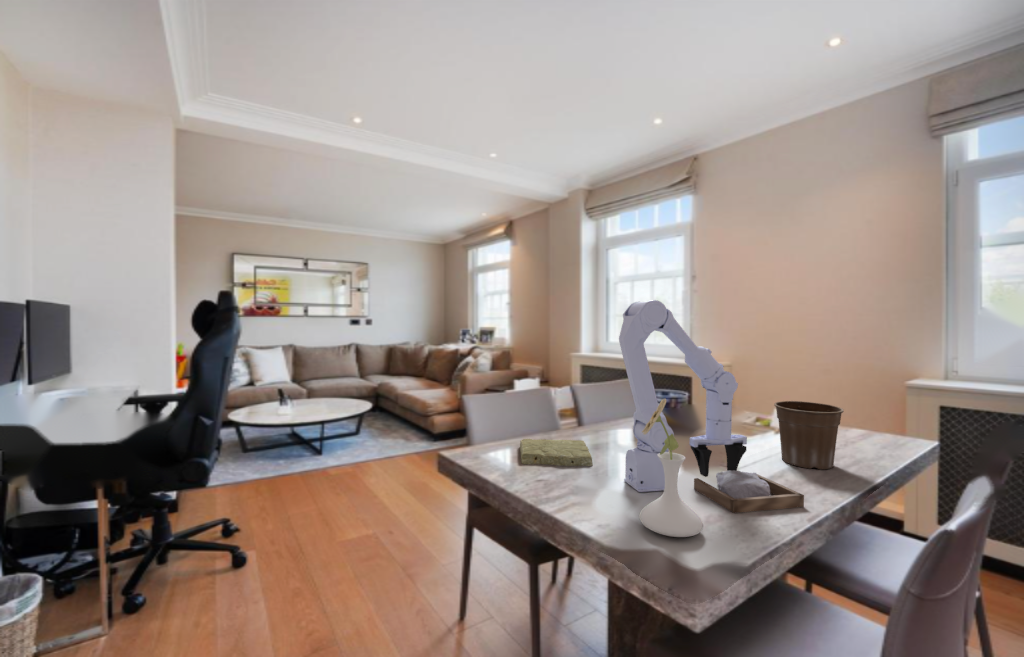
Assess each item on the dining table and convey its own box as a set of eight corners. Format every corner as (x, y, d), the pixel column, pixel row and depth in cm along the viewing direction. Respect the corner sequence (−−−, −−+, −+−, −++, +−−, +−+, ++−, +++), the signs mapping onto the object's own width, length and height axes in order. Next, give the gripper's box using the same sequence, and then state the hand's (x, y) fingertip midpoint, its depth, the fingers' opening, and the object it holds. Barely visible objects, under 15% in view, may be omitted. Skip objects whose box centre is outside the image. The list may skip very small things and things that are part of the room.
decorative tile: (519, 448, 139) (519, 437, 139) (584, 449, 139) (584, 438, 139) (519, 467, 121) (519, 454, 121) (594, 468, 120) (594, 455, 120)
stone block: (727, 508, 98) (776, 503, 96) (722, 486, 98) (771, 481, 97) (713, 490, 110) (756, 485, 108) (709, 471, 110) (752, 465, 108)
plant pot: (831, 477, 114) (832, 414, 114) (763, 461, 126) (764, 404, 126) (850, 465, 124) (851, 407, 124) (786, 451, 137) (787, 399, 137)
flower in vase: (657, 511, 92) (659, 390, 92) (713, 530, 84) (715, 397, 83) (622, 530, 83) (624, 396, 83) (681, 554, 75) (683, 405, 75)
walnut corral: (733, 513, 91) (733, 500, 91) (693, 488, 105) (694, 478, 105) (803, 506, 95) (804, 495, 95) (756, 484, 108) (756, 474, 108)
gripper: (702, 423, 104) (701, 482, 104) (756, 421, 107) (755, 478, 107) (684, 417, 111) (684, 472, 111) (735, 415, 114) (735, 468, 114)
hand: (717, 474), depth 109 cm, fingers open, 7 cm apart
